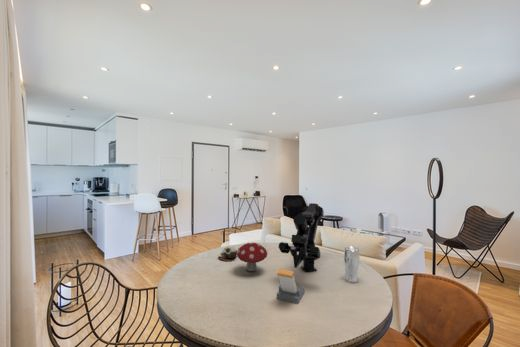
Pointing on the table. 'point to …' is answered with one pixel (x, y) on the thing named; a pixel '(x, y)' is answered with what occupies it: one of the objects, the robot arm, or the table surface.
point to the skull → (228, 253)
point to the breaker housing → (291, 295)
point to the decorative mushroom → (251, 254)
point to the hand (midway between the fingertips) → (295, 267)
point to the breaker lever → (287, 281)
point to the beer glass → (351, 263)
